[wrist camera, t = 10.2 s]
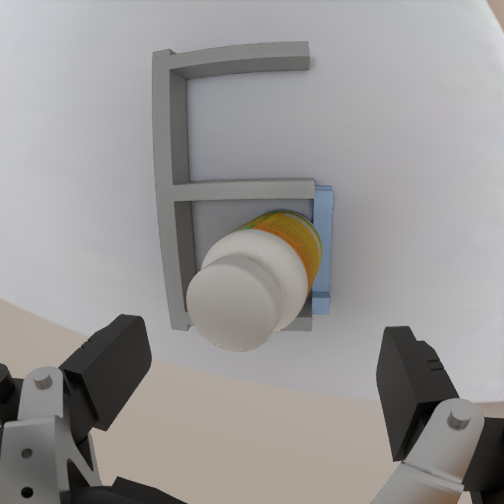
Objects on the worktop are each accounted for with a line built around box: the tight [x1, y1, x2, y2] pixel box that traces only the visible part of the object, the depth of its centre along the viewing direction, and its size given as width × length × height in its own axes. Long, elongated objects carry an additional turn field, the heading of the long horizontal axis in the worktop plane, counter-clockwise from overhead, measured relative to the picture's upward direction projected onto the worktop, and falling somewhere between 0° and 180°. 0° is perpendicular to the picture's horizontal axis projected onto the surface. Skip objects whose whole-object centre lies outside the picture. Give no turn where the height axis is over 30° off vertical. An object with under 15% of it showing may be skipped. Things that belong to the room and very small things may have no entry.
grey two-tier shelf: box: [152, 42, 315, 331], centre depth 20 cm, size 19×10×3 cm, turn 2°
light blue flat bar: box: [312, 186, 334, 314], centre depth 21 cm, size 8×1×2 cm, turn 2°
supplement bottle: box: [186, 210, 323, 352], centre depth 17 cm, size 5×5×10 cm
